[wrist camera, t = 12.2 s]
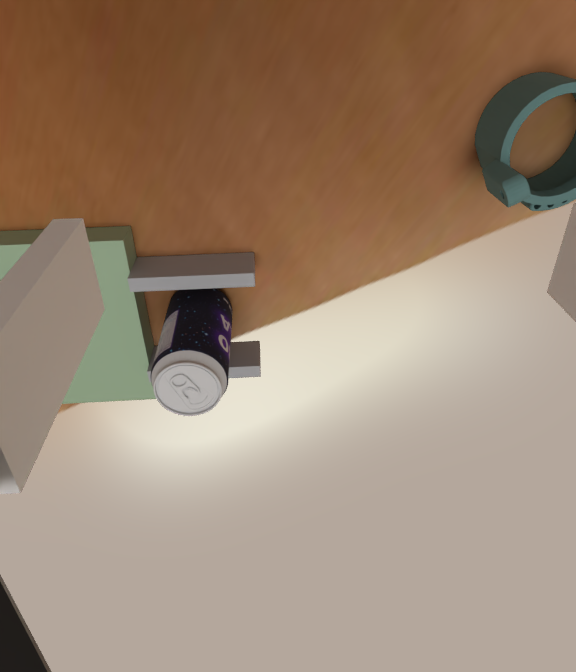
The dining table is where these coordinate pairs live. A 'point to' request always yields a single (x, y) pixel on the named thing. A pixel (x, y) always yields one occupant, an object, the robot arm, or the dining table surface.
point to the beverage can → (193, 352)
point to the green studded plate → (138, 309)
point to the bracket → (497, 137)
